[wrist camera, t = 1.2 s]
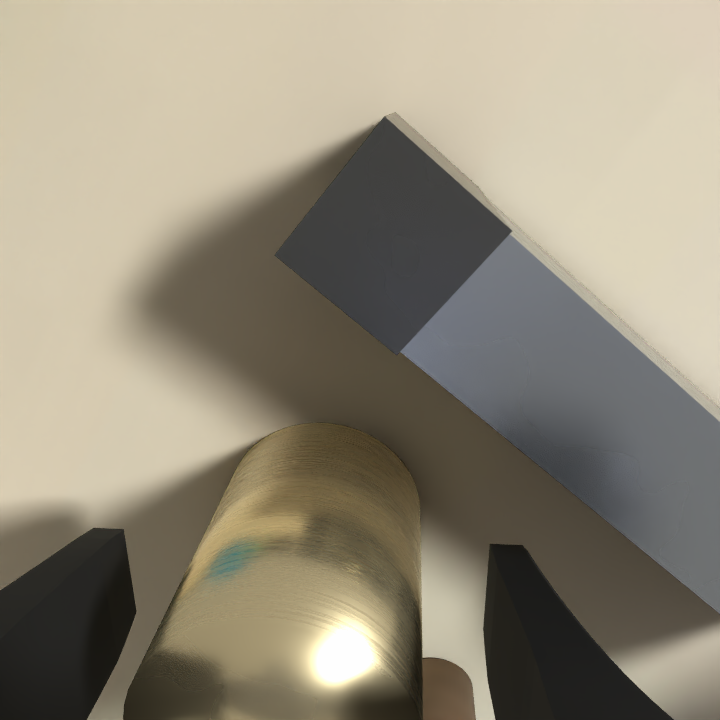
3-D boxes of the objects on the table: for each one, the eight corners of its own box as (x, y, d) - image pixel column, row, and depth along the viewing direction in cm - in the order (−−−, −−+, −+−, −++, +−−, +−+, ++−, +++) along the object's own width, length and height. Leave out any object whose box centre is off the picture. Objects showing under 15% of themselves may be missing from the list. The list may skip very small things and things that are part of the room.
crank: (931, 530, 14) (1159, 719, 10) (772, 639, 15) (911, 847, 11) (431, 67, 12) (440, 44, 7) (291, 241, 13) (229, 310, 9)
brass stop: (444, 453, 15) (464, 670, 9) (390, 607, 16) (377, 873, 11) (249, 400, 14) (145, 586, 9) (213, 560, 16) (106, 803, 10)
